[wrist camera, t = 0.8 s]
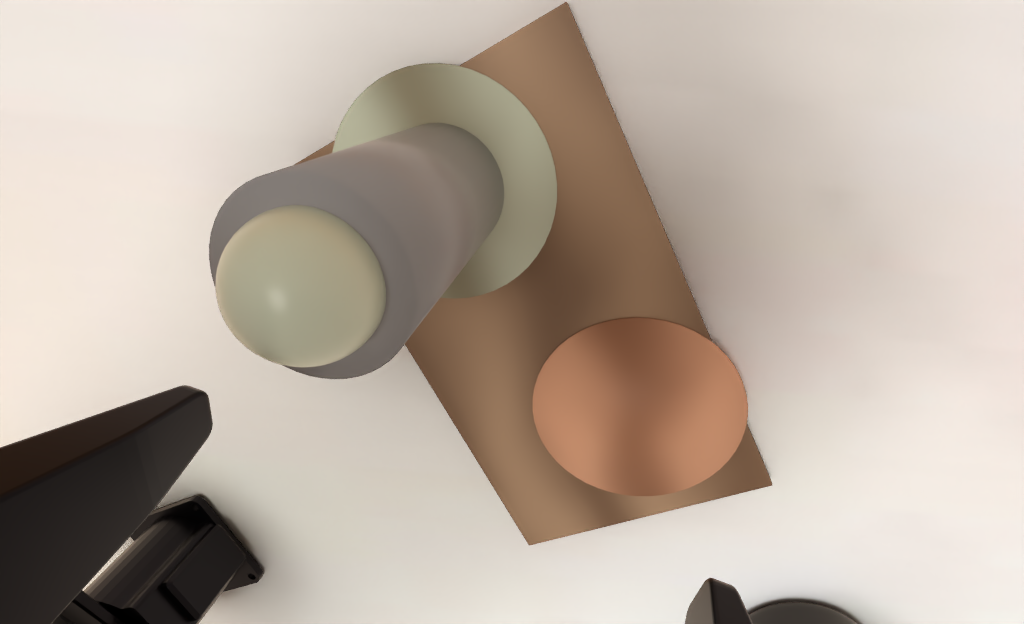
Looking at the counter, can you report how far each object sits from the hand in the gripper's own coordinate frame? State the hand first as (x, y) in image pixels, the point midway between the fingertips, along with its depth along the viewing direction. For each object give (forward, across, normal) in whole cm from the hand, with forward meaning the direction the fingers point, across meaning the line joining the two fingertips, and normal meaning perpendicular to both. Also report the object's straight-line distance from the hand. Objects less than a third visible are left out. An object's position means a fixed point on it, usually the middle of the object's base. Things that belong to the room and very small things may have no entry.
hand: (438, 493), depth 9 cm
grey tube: (+14, +6, 0) cm, 15 cm away
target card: (+14, 0, +5) cm, 15 cm away
